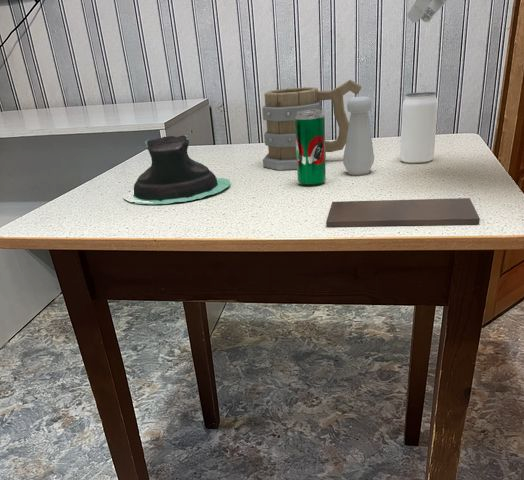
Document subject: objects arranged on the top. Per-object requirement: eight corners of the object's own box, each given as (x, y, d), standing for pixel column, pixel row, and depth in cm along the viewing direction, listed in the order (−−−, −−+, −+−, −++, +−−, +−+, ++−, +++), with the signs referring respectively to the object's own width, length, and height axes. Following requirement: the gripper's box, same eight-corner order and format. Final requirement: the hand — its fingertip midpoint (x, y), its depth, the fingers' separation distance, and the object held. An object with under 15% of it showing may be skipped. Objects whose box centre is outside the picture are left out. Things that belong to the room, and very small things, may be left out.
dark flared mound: (113, 183, 106) (209, 170, 112) (137, 250, 97) (240, 232, 103) (105, 113, 93) (214, 103, 100) (132, 183, 85) (249, 167, 91)
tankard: (260, 171, 109) (253, 89, 101) (270, 158, 120) (265, 84, 112) (359, 166, 105) (360, 81, 97) (361, 154, 116) (362, 76, 108)
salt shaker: (336, 174, 101) (335, 98, 95) (356, 168, 104) (357, 94, 98) (360, 177, 97) (361, 99, 91) (380, 171, 100) (382, 95, 94)
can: (404, 156, 110) (407, 92, 104) (436, 157, 107) (441, 91, 101) (396, 163, 105) (399, 96, 99) (430, 164, 102) (435, 95, 96)
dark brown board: (469, 203, 79) (469, 197, 78) (479, 224, 70) (480, 218, 70) (332, 206, 83) (332, 201, 82) (326, 227, 74) (326, 221, 74)
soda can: (329, 180, 98) (328, 108, 92) (320, 187, 94) (318, 112, 88) (303, 179, 100) (300, 109, 94) (293, 186, 96) (289, 113, 90)
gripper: (495, -69, 68) (419, 34, 77) (506, -52, 84) (442, 32, 93) (458, -102, 68) (386, 5, 77) (476, -79, 84) (415, 7, 92)
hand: (417, 20), depth 85 cm, fingers open, 8 cm apart
